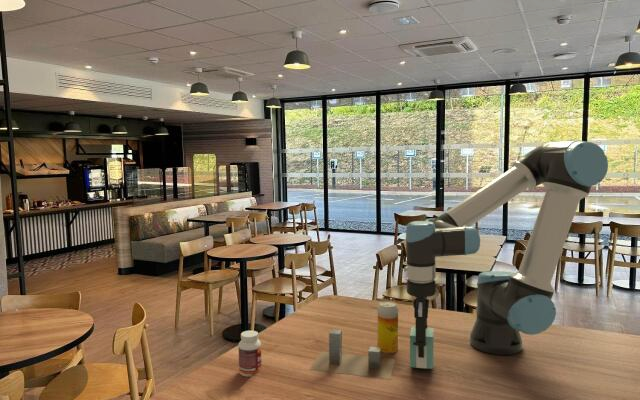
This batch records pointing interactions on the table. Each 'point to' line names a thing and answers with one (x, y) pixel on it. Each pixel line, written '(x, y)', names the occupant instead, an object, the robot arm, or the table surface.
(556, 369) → the table surface
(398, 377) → the table surface
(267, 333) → the table surface
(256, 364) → the pill bottle
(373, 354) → the short post
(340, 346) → the tall post
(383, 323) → the beer can
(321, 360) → the board
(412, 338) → the mint green toy brick
